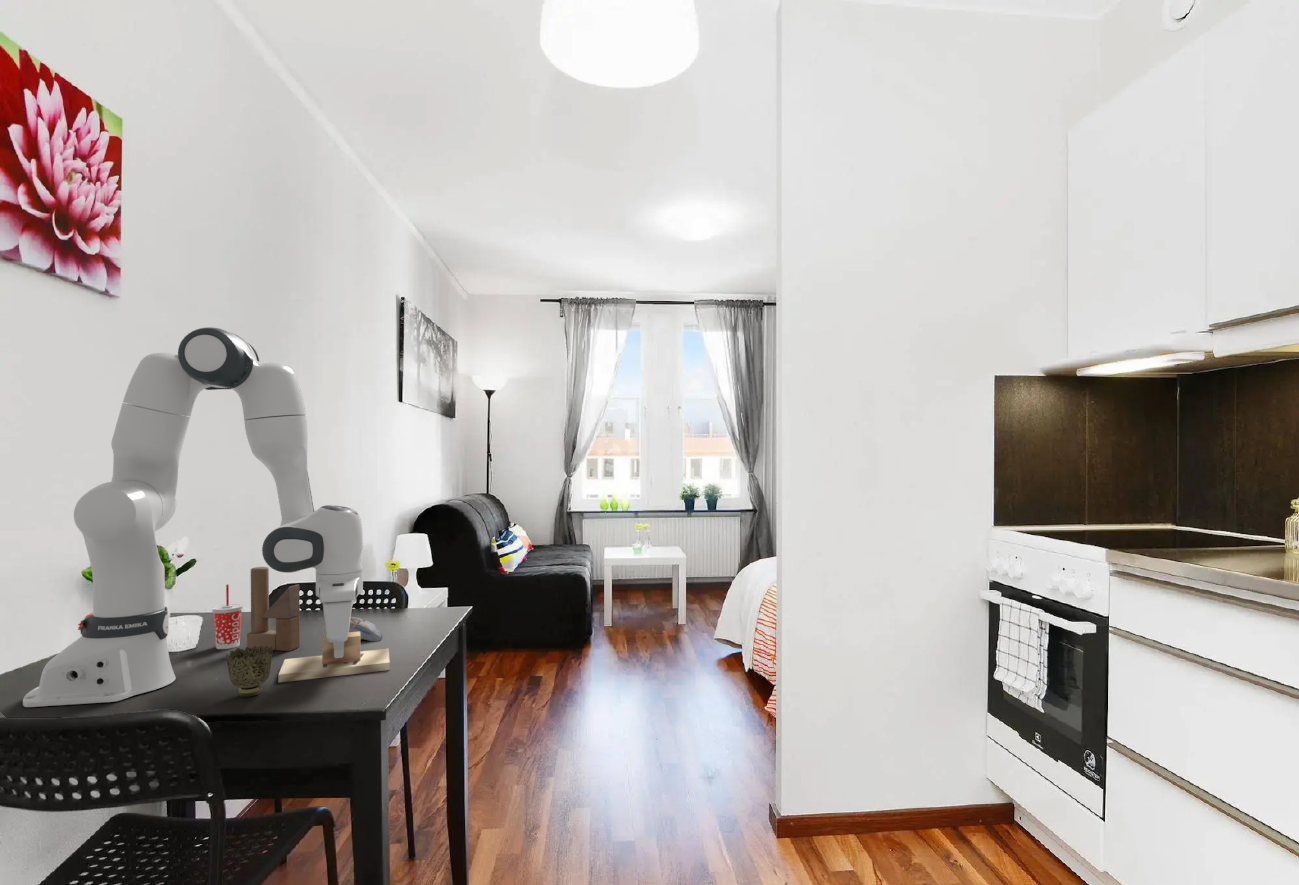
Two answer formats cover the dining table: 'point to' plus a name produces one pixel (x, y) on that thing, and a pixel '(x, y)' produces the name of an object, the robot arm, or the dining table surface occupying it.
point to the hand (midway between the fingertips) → (339, 653)
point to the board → (333, 666)
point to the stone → (365, 629)
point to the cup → (249, 669)
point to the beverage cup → (227, 624)
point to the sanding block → (350, 650)
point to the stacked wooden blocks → (273, 615)
